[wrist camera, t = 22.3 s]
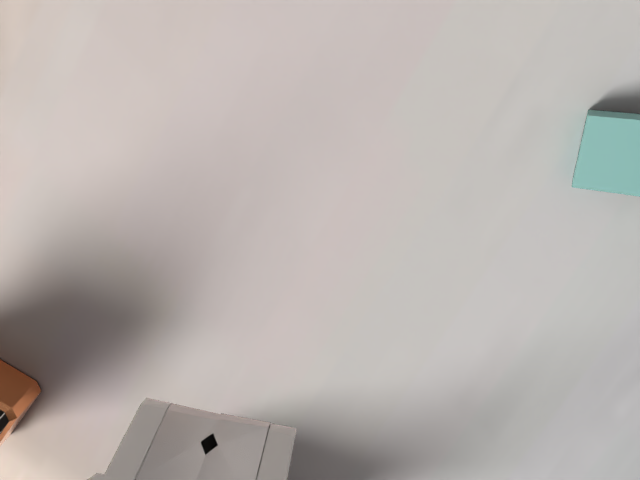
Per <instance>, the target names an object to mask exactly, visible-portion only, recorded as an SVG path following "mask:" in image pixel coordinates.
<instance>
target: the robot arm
mask: <svg viewBox="0 0 640 480" xmlns="http://www.w3.org/2000/svg"><path fill="white" fill-rule="evenodd" d="M295 436H296V428H292V427H287V426H281V425H276V424H271V423H270V422H265V421H259V420H254V419H249V418H243V417H238V416H232V415H227V414H222V413H221V414H218V413H213V412H209V411H204V410H200V409H195V408H190V407H186V406H181V405H177V404H173V403H169V402H164V401H159V400H154V399H149V398H146V399H145V400H144V401H143V403H142V404H141V405H140V406H139V408H138V410H137V412H136V414H135V416H134V418H133V420H132V422H131V424H130V426H129V428H128V430H127V432H126V433H125V435H124V437H123V439H122V441H121V443H120V445H119V447H118V449H117V451H116V453H115V455H114V457H113V459H112V461H111V463H110V464H109V466H108V468H107V470H106V472H105V474H99V473H96V474H95V475H93V476H92V477H90V478H89V479H88V480H287V478H288V473H289V468H290V462H291V457H292V452H293V446H294V441H295Z"/></svg>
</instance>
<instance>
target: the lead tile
mask: <svg viewBox="0 0 640 480" xmlns="http://www.w3.org/2000/svg"><path fill="white" fill-rule="evenodd" d="M572 187H575V188H582V189H589V190H596V191H604V192H611V193H618V194H625V195H633V196H640V114H633V113H621V112H610V111H598V110H588V113H587V118H586V122H585V127H584V131H583V136H582V140H581V144H580V149H579V153H578V158H577V162H576V167H575V171H574V176H573V181H572Z"/></svg>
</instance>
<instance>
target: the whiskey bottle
mask: <svg viewBox="0 0 640 480" xmlns="http://www.w3.org/2000/svg"><path fill="white" fill-rule="evenodd" d="M40 392H41V390H40V388H39V385H38V383H37V381H35V380H34V379H32V378H30V377H29V376H27V375H25V374H24V373H22V372H20V371H18V370H17V369H15V368H13V367H12V366H10V365H8V364H7V363H5V362H3V361H2V360H0V446H1V445H2V444H3V443H4V441H5V440H6V439H7V438H8V437H9V436H10V434H11V433H12V431H13V430H14V429H15V427H16V426H17V424H18V423H19V422H20V420H21V419H22V417H23V416H24V415H25V413H26V412H27V410H28V409H29V408H30V406H31V405H32V403H33V402H34V401H35V399H36V398H37V396H38V395H39V394H40Z"/></svg>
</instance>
